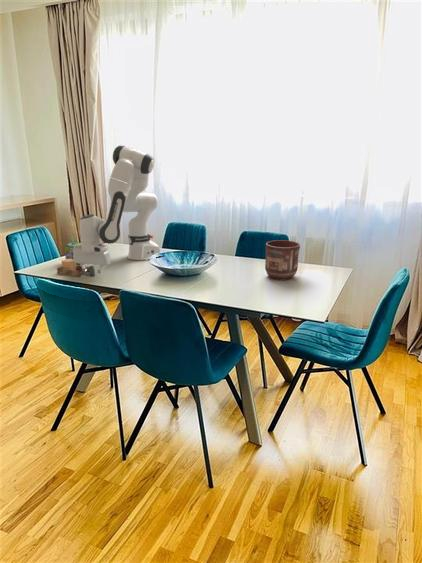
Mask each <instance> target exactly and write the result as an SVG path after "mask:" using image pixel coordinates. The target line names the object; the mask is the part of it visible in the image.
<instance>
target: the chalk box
mask: <svg viewBox="0 0 422 563" xmlns="http://www.w3.org/2000/svg"><path fill="white" fill-rule="evenodd" d="M70 241H71V242H70V243H68V244H65V245H63V249H64V256H65V260H66V259H73V247H74V246H76V245H77V246H81V242H78V241H77V238H76V237H73V238H71V239H70ZM74 241H75V242H74ZM76 265H80V263H76Z"/></svg>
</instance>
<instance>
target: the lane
mask: <svg viewBox="0 0 422 563" xmlns="http://www.w3.org/2000/svg"><path fill="white" fill-rule="evenodd" d="M84 266H85V265H84ZM85 268H87V271H86V272H85V273H87V272H88V273H89V274H90V270H89V266H85ZM56 270H57V274H58V275H62V276H63V275H64V276H69V275H70V277H75V276H77V277H76V278H82V274H81V271H82V272H83V269H82V267H81V266H80V265H76V270H70V269H64V268H62V266H59V267H57V268H56ZM83 273H84V272H83Z"/></svg>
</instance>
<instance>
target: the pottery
mask: <svg viewBox="0 0 422 563" xmlns="http://www.w3.org/2000/svg"><path fill="white" fill-rule="evenodd" d="M300 248H301V244H300V243H299V242H296V241H294V240H293V241H292V240H286V239H282V240H281V239H280V240H279V239H276V240H270V241H267V242H266V243H265V264H264V270H265V273H266V274H267V276H268V277H269V278H270V277H271V279H272V278H274V279H273V280H276V279H288V280H290V279H292V278H294V276H295V275H296V274H297V271H298V267H299V254H300Z"/></svg>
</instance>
